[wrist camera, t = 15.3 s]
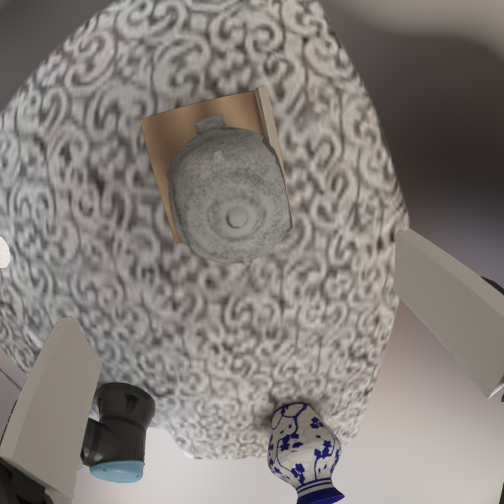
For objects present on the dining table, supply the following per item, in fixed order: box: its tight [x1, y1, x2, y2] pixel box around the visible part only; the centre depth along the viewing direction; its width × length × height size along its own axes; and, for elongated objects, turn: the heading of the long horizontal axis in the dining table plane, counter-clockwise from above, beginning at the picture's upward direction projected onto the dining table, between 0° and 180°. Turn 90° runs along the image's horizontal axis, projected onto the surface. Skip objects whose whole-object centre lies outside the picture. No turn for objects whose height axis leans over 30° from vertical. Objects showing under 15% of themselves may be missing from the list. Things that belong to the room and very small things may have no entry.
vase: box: [267, 403, 345, 504], centre depth 57 cm, size 19×19×30 cm
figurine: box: [166, 114, 293, 265], centre depth 29 cm, size 10×14×25 cm
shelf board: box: [140, 86, 293, 244], centre depth 39 cm, size 18×20×4 cm
